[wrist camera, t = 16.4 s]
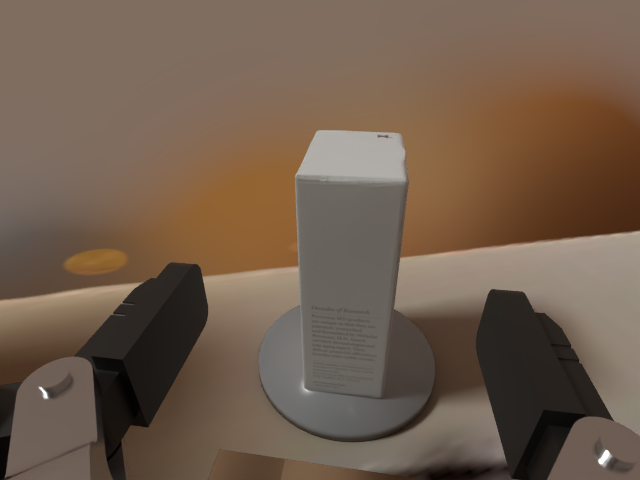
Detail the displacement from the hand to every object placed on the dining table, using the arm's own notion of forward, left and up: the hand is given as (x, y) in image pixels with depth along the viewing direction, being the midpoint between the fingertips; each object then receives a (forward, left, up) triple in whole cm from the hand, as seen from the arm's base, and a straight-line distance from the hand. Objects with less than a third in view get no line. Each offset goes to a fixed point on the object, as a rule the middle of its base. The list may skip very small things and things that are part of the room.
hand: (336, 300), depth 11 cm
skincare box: (0, +7, -10) cm, 12 cm away
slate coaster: (0, +7, -10) cm, 13 cm away
